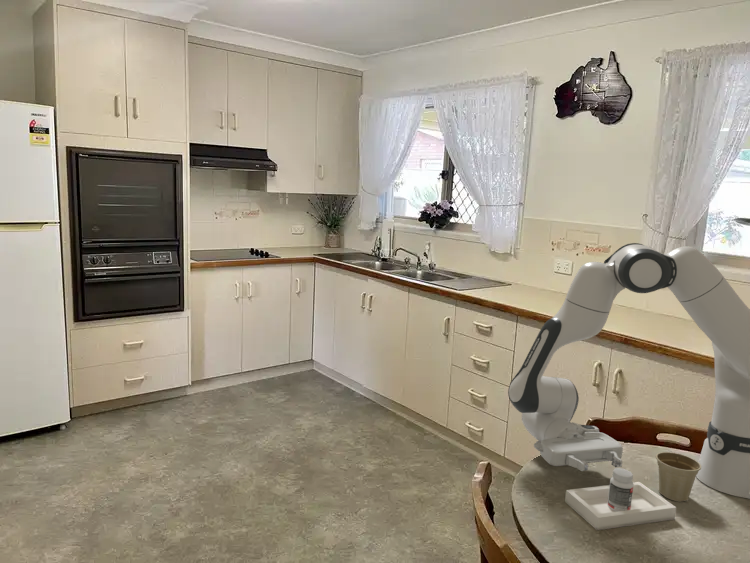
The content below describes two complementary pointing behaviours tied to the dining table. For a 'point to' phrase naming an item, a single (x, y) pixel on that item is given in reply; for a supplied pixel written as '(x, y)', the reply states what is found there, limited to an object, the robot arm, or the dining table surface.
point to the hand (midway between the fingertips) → (602, 466)
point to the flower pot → (676, 475)
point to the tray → (602, 517)
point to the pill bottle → (620, 490)
